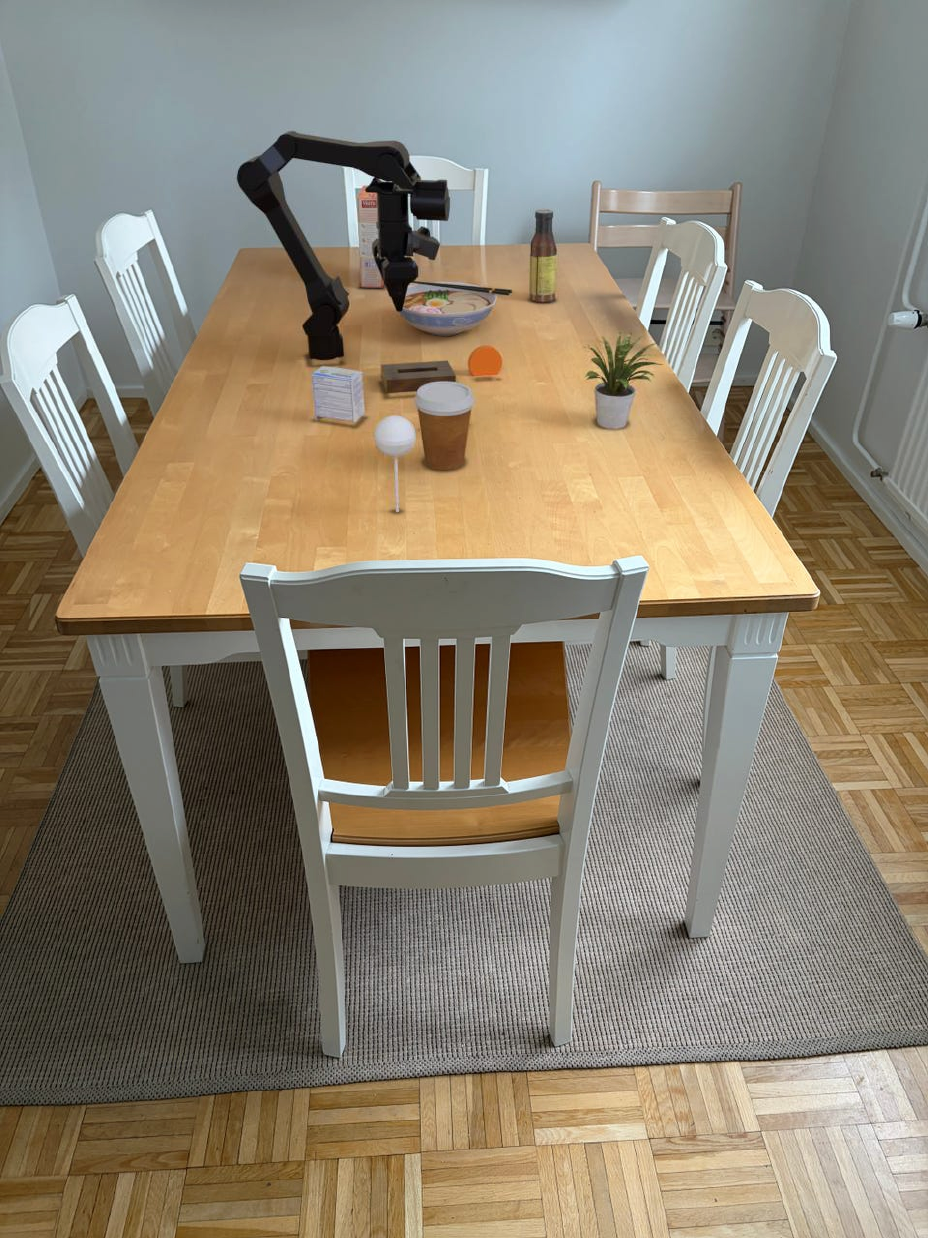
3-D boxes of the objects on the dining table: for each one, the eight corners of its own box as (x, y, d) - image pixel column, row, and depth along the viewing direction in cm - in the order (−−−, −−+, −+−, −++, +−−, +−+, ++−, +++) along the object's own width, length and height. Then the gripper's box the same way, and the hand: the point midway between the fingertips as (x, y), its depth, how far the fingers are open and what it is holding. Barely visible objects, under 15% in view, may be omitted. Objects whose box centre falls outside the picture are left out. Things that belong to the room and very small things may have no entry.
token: (466, 378, 183) (472, 345, 180) (465, 376, 184) (470, 343, 181) (498, 381, 185) (505, 348, 181) (497, 379, 186) (503, 346, 182)
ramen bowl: (369, 339, 203) (367, 300, 198) (413, 308, 220) (413, 272, 215) (478, 355, 195) (479, 316, 190) (515, 322, 212) (517, 285, 208)
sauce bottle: (559, 298, 227) (565, 209, 216) (547, 305, 223) (552, 215, 211) (535, 293, 230) (540, 206, 218) (523, 300, 226) (526, 211, 214)
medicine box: (365, 417, 169) (363, 370, 164) (355, 427, 166) (352, 379, 161) (325, 411, 171) (321, 364, 166) (314, 420, 168) (310, 373, 163)
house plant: (595, 448, 160) (605, 353, 151) (552, 417, 170) (558, 327, 160) (664, 432, 165) (677, 340, 156) (618, 404, 175) (628, 315, 166)
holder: (387, 398, 177) (386, 380, 175) (381, 382, 183) (380, 364, 181) (455, 393, 179) (455, 375, 177) (447, 377, 185) (447, 360, 183)
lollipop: (377, 501, 144) (373, 408, 135) (416, 500, 144) (414, 407, 136) (377, 522, 139) (373, 426, 130) (418, 520, 139) (416, 425, 131)
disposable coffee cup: (453, 480, 150) (453, 408, 143) (403, 465, 154) (401, 394, 147) (484, 458, 156) (486, 388, 150) (436, 444, 161) (435, 375, 154)
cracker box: (384, 288, 232) (381, 196, 220) (359, 288, 232) (355, 196, 220) (389, 272, 243) (386, 184, 231) (365, 272, 243) (361, 184, 231)
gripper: (445, 228, 169) (445, 316, 178) (427, 205, 184) (428, 287, 193) (383, 231, 167) (386, 320, 176) (370, 207, 182) (373, 290, 191)
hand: (395, 303), depth 184 cm, fingers open, 9 cm apart
